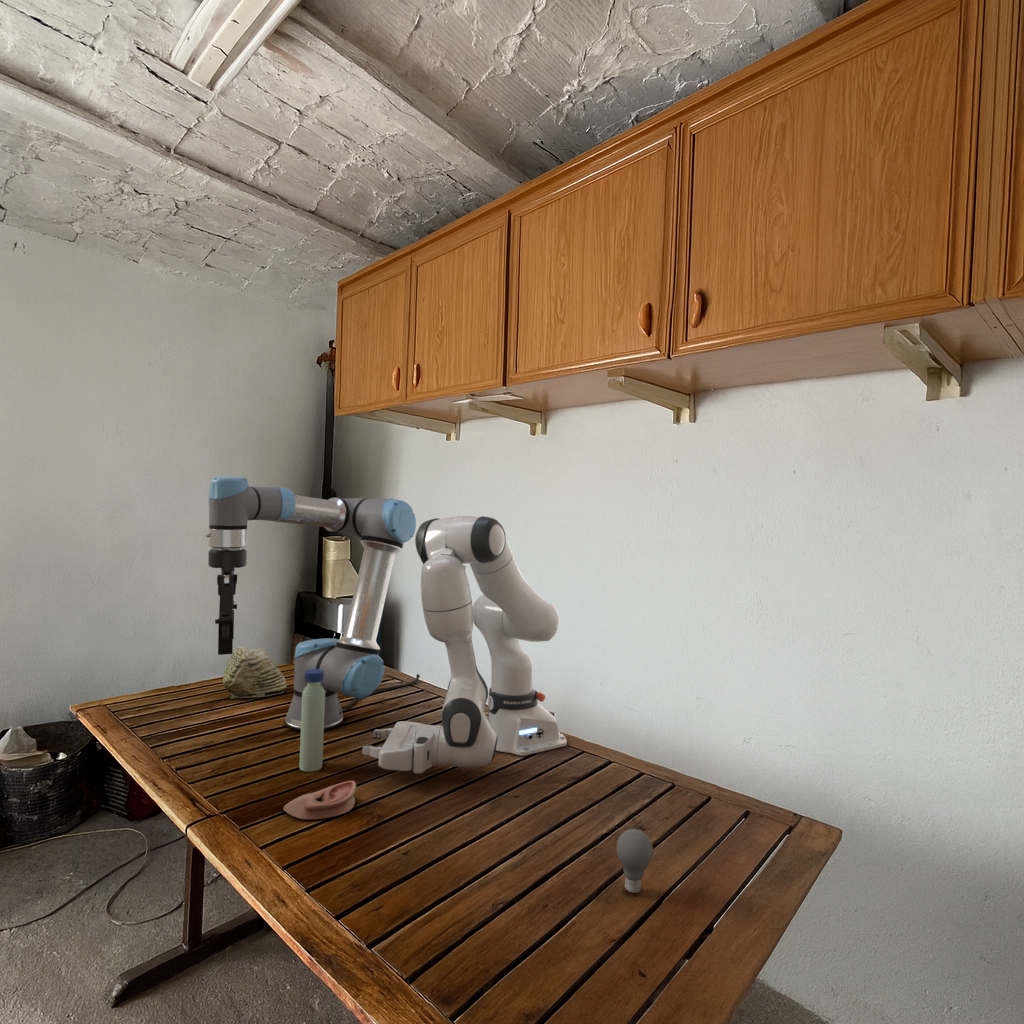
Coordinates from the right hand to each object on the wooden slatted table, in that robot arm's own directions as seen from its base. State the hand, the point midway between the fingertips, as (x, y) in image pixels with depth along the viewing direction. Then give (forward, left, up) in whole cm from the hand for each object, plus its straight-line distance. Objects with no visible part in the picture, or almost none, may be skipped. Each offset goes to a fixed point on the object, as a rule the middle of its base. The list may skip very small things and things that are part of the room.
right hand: (368, 741), depth 148 cm
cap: (+12, -6, +15) cm, 20 cm away
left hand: (+31, -3, +23) cm, 39 cm away
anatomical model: (+12, +15, -7) cm, 20 cm away
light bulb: (-33, +60, -7) cm, 69 cm away
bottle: (+12, -6, -7) cm, 15 cm away
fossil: (+23, -65, -7) cm, 69 cm away
